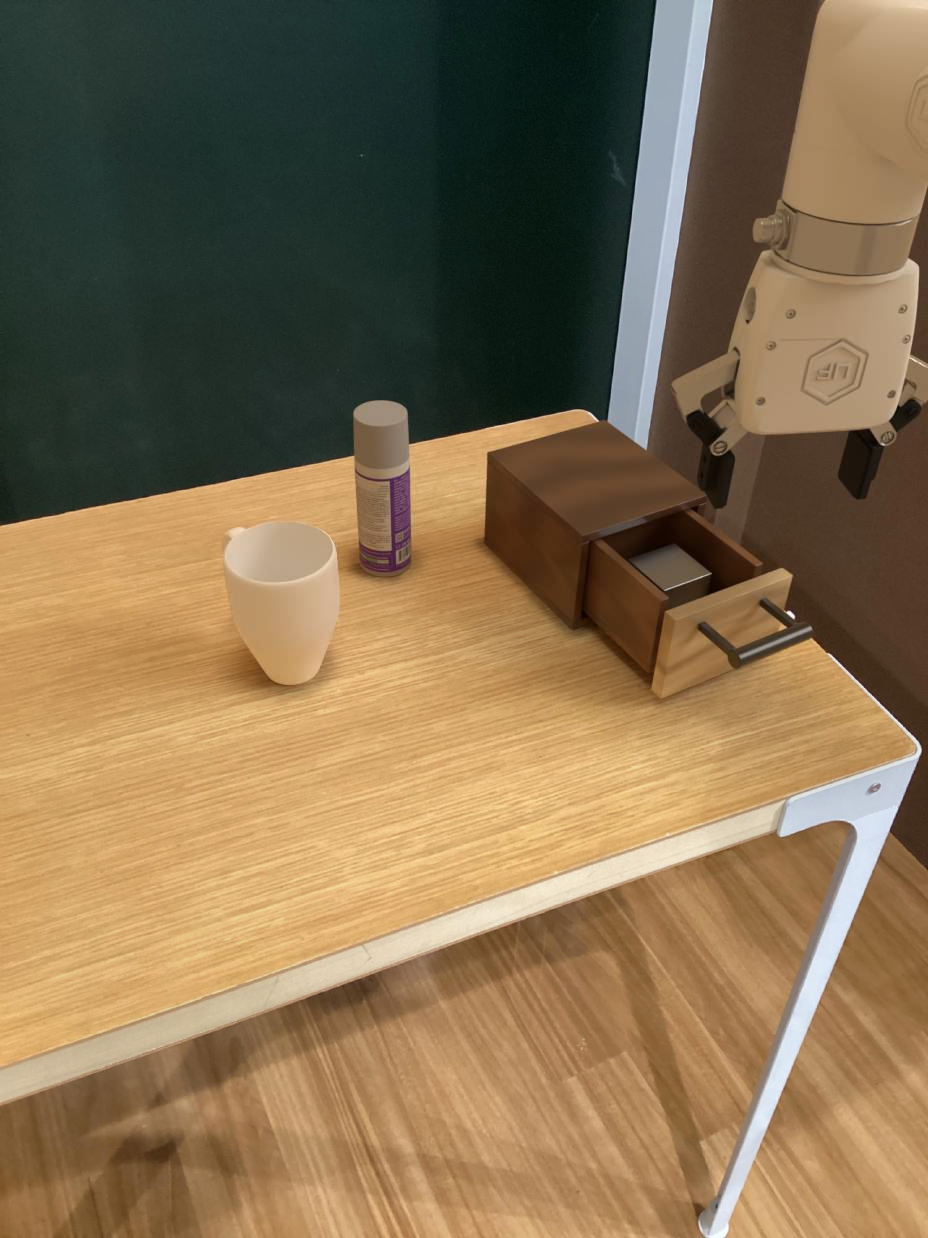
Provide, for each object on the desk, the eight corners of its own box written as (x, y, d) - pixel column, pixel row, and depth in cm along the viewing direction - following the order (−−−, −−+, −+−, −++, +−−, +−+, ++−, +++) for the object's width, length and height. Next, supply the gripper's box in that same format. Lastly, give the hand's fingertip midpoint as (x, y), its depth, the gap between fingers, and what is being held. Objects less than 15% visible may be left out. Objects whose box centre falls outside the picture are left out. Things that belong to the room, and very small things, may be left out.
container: (399, 542, 99) (395, 395, 90) (419, 569, 96) (418, 419, 86) (352, 554, 97) (343, 405, 88) (371, 582, 94) (364, 431, 85)
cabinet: (690, 587, 94) (707, 494, 88) (572, 630, 89) (582, 535, 83) (594, 507, 104) (604, 419, 98) (483, 542, 99) (487, 452, 93)
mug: (365, 672, 85) (359, 554, 78) (277, 719, 81) (262, 599, 73) (281, 600, 92) (268, 487, 85) (196, 640, 88) (175, 524, 80)
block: (674, 542, 88) (712, 573, 85) (666, 589, 91) (702, 620, 88) (627, 558, 86) (664, 590, 83) (620, 605, 89) (656, 638, 86)
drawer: (816, 689, 83) (840, 610, 78) (701, 739, 78) (719, 659, 74) (668, 566, 95) (681, 491, 90) (562, 603, 91) (569, 527, 86)
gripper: (717, 265, 57) (673, 533, 68) (1019, 254, 59) (930, 515, 70) (676, 219, 63) (641, 472, 73) (952, 210, 65) (880, 457, 75)
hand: (782, 493), depth 71 cm, fingers open, 9 cm apart
